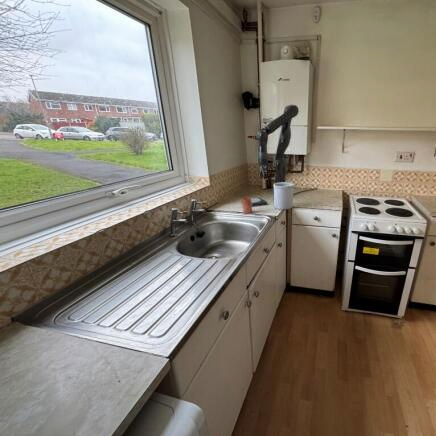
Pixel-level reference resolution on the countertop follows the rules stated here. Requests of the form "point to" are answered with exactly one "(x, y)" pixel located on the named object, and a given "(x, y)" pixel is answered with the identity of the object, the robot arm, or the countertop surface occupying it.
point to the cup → (247, 205)
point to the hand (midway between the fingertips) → (263, 178)
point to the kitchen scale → (258, 202)
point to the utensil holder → (283, 195)
